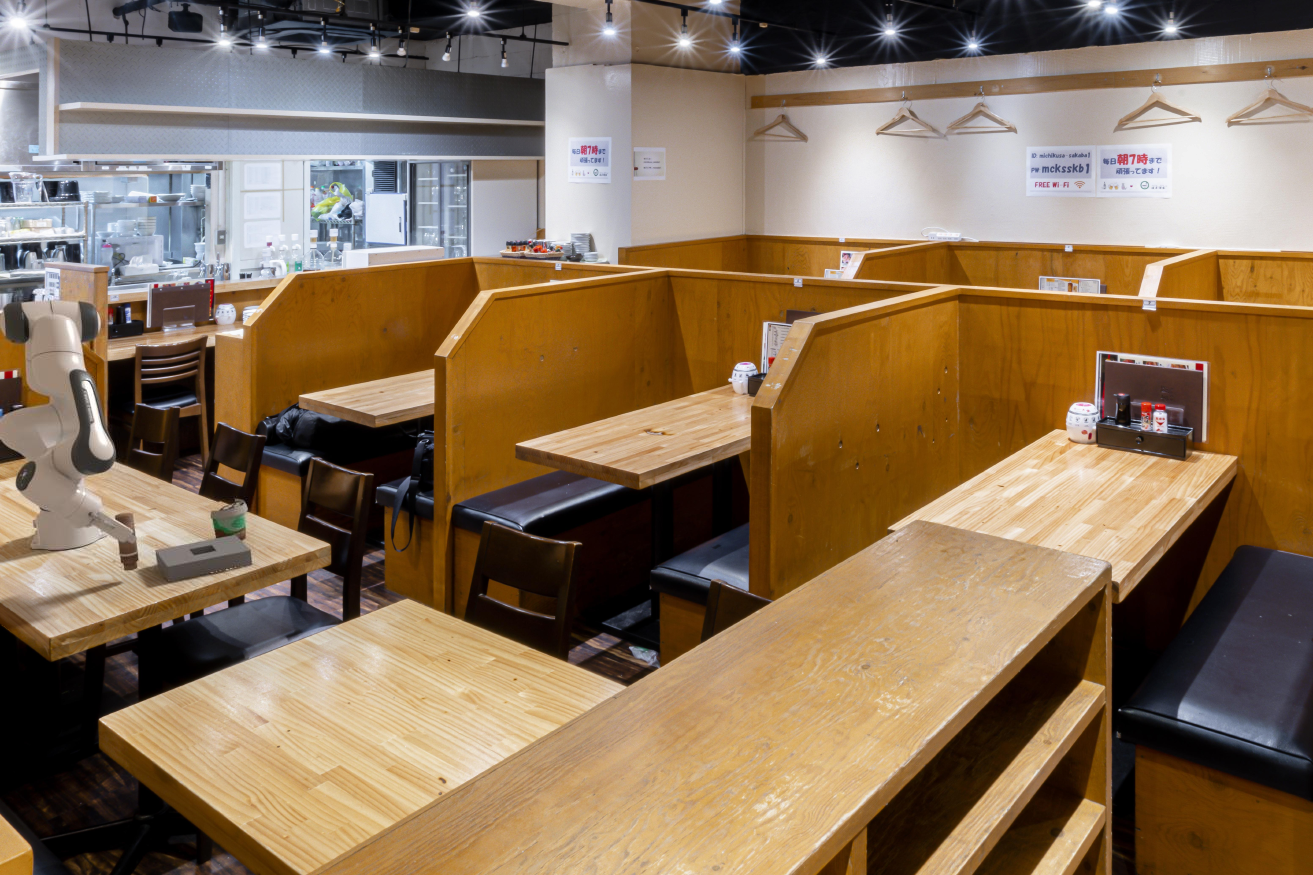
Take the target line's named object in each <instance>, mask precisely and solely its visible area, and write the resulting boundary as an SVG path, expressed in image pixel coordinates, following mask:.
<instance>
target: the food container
mask: <svg viewBox="0 0 1313 875" xmlns="http://www.w3.org/2000/svg"><path fill="white" fill-rule="evenodd" d="M248 510H249V508H248V506H247V504H246V502H245V500H243V499H239V498H234V502H233V503H231V504H228V505H224V506H222V507H220V509H217V510H211V511H210V519H212V523H213V525H212V526H213V529H214V535H215V539H216V538H222V537H227V536H232V535H236V536H237V537H238V538H239V539H240V540H241V541H242V542H243V541H244V540H245V539H246V538H247V535H246V534H247V533H246V532H247V530H246V512H247V511H248Z"/></svg>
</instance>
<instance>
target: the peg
mask: <svg viewBox="0 0 1313 875" xmlns="http://www.w3.org/2000/svg"><path fill="white" fill-rule="evenodd" d="M114 519H115V520H117V521H119V522H120V523H122V524H124V525H125V526H127V527H129V528H130V529H132V530H133V533H132V535H133V536H135V537H136V538H137V536H136V526H135V520H134V513H132V512H121V513H118V514H116V515H114ZM117 543H118V549H119V550H118V552H119V557H120V558H119V559H120V563H121V564H123V570H124V571H127V572H128V571H134V570H136V569H138V562H139V559H140V558H139V550H138V545H137V544H138V543H137V540H136V541H135V542H134V543H130V542H128V541H126V542H125V543H123V542H121V541H119V540H117Z"/></svg>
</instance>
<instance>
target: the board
mask: <svg viewBox="0 0 1313 875" xmlns="http://www.w3.org/2000/svg"><path fill="white" fill-rule="evenodd" d="M155 558H156V565H157V566H158V567H159V569H160V571H161V572H162V574H164V576H165V578H166V580H167V581H168V582H170V583H171V582H175V581H180V580H184V579H185V578H186V579H189V578H194V577H195V578H196V577H199V576H204V575H203V574H205V575H208V574H207V573H210V574H212V573H211V572H215V573H217V572H216V571H219V572H221V571H220V570H224V571H227V570H226V569H229V570H231V569H230V568H234V569H236V568H235V567H239V568H242V567H241V566H244V567H248V566H253V560H252V559H253V558H252V549H250V548H249V547H248V546H247V545H246V544H245V543H244V542H243V540H242V541H241V540H240V539H239V538H238V537H237V536H236V535H232V536H227V537H222V538H216V537H215V538H212V539H206V540H202V541H197V542H190V543H186V544H181V545H175V546H170V547H165V548H159V549H155ZM247 565H248V566H247Z"/></svg>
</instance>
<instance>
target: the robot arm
mask: <svg viewBox="0 0 1313 875" xmlns="http://www.w3.org/2000/svg"><path fill="white" fill-rule="evenodd" d="M101 321H102V320H101V316H100V314H99V312H98V311H97V307H96V306H94V304H92V303H91V302H87V301H86V302H85V301H80V300H79V301H70V300H59V299H58V300H57V299H56V300H55V299H50V300H38V301H37V300H36V301H26V302H25V301H24V302H21V301H14V302H9V303H6V304H5V305H4V306H3V308H2V311H1V313H0V330H1V332H2V334H3V336H4V338H5V339H6V340H7V341H9V342H10V343H12V344H13V343H14V344H17V345H24V344H25V347H24V348H25V350H24V351H25V356H24V357H25V375H26V377H25V378H26V384H27V385H28V387H29V388H30V389H31V390H32V391H34V392H36V393H37V394H39V395H41V396H42V395H43V396H47V397H49V403H47V404H40V405H35V406H30V407H29V406H28V407H23V408H19V409H16V410H13V411H11V412H8V413H6V414H4V415H2V417H0V440H1V442H2V443H3V444H4V445H5V446H7V447H8V448H9V449H11V450H14V451H15V452H17V453H19V454H21V455H22V456H23V457H24V458H25V459H26V460H28V462H26V463H24V464H23V465H22V467H20V469H19V470H18V473H17V474H16V478H15V487H16V490H17V491H18V492H19V493H20V494H21V495H22V496H23V497H25V499H26V500H28V501H29V502H32V503H33V504H35V505H36V506H37V507H38V508H39V511H40V512H39V513H38V515H36V518H35V519H33V520H32V527H33V528H34V529H35V531H34V532H35V534H34V536H33V538H32V540H31V543H30V549H31V548H32V549H31V550H52V551H56V550H57V551H59V550H68V549H69V550H70V549H75V548H79V547H84V546H86V545H90V544H92V543H94V542H96V541H98V540H99V539H102V538H105V537H106V536H111V537H112V538H113V539H116V540H117V541H118V540H119V541H121V542H123V543H125V542H126V541H128V542H130V543H134V542H135V541H136V542H137V536H136V537H135V536H133V535H132V533H133V530H132V529H130V528H129V527H127V526H125V525H124V524H122V523H120V522H119V521H117V520H115V517H112V516H110V515H108V514H107V513H105V512H104V511H105V507H104V505H103V501H102V498H101V497H100V496H98V495H97V494H95V493H93V492H92V491H90V490H89V489H87V488H86V485H85V480H84V479H85V478H87V477H89V476H93V475H98V474H102V473H105V472H107V471H109V470H110V469H111V468H112V466H113V465H114V463H115V461H116V457H117V455H116V454H117V452H116V447H115V443H114V441H113V439H112V438H111V435H110V433H109V430H108V428H107V423H106V420H105V416H104V412H103V406H102V402H101V399H100V395H99V391H98V388H97V384H96V382H95V379H94V378H93V376H92V375H91V373H89V372H88V371H87V369H86V366H85V360H84V351H83V345H82V344H84V343H88V342H89V343H90V342H92V341H94V340H95V339H96V338H98V336H99V333H100V330H101V323H102V322H101Z"/></svg>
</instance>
